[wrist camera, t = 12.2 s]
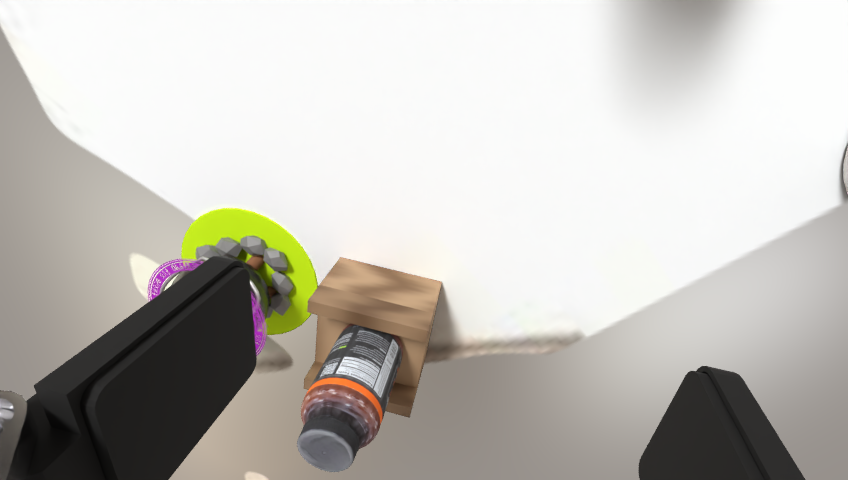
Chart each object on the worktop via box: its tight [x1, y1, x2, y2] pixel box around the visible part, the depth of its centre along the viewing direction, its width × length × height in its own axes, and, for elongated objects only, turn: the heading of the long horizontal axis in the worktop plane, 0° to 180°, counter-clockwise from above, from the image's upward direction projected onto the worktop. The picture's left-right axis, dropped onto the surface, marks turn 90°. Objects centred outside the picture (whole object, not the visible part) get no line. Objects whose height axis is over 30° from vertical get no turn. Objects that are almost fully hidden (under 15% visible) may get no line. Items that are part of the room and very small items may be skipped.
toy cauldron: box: [148, 208, 318, 356], centre depth 39 cm, size 15×15×11 cm
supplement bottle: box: [297, 323, 403, 472], centre depth 33 cm, size 6×6×11 cm
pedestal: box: [304, 257, 442, 417], centre depth 40 cm, size 10×10×7 cm
